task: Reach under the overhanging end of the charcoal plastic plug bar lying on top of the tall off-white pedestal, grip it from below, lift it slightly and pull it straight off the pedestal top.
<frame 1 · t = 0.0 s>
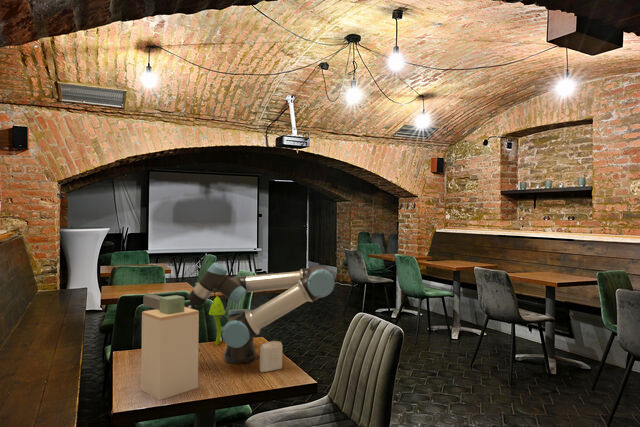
hand: (170, 334, 193), 15 cm above the table, tool tilted 35°, fingers open, 13 cm apart
pedestal: (169, 388, 172), on the table
plug bar: (161, 308, 177), point 30 cm above the table, touching pedestal
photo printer: (270, 370, 194), on the table
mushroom: (216, 344, 231), on the table
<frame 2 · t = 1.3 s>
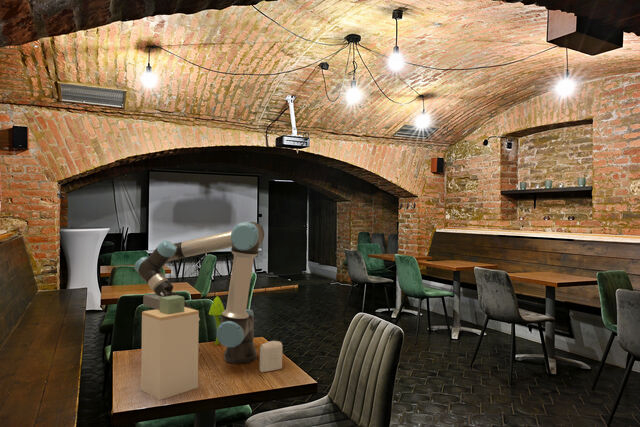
hand: (191, 321, 189), 22 cm above the table, tool tilted 50°, fingers open, 12 cm apart
nothing on the table moved.
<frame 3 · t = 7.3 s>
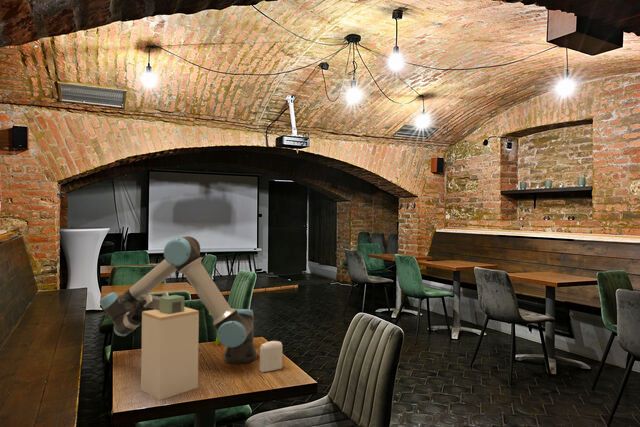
hand: (159, 296, 178), 35 cm above the table, tool pointing upward, fingers open, 6 cm apart
plug bar: (159, 308, 177), point 30 cm above the table, touching gripper
everything else where it was.
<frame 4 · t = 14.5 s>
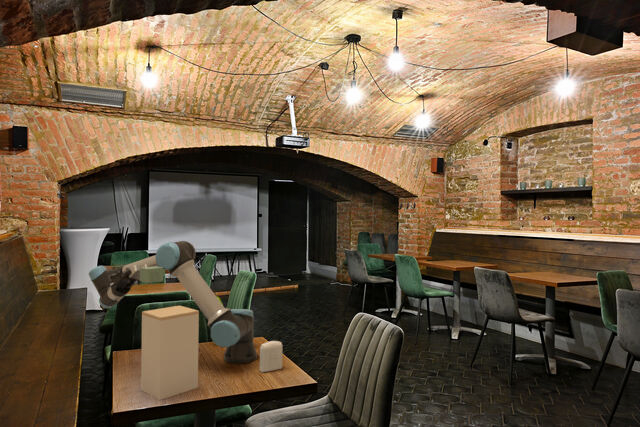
hand: (140, 267, 188), 45 cm above the table, tool pointing upward, fingers closed on plug bar, 4 cm apart
plug bar: (142, 279, 188), point 40 cm above the table, touching gripper
everything else where it was.
at the end: plug bar moved 19.0 cm from its start; plug bar point 40.0 cm above the table; the gripper is holding plug bar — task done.
